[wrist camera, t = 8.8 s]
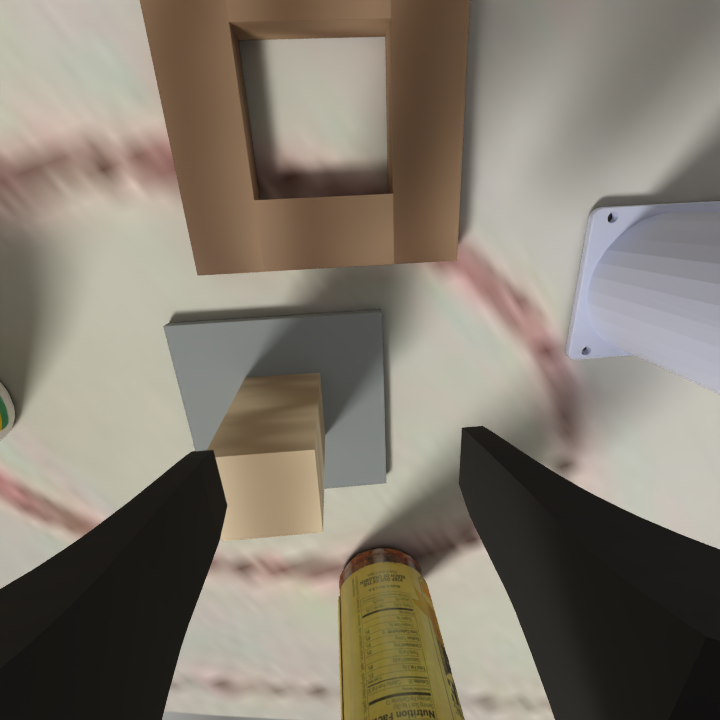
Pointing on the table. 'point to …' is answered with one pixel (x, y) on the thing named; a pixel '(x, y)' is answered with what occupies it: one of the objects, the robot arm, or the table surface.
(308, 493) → the beech block
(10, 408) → the supplement bottle
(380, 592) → the sauce bottle
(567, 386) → the table surface
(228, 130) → the brown wooden square frame
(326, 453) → the grey square plate
